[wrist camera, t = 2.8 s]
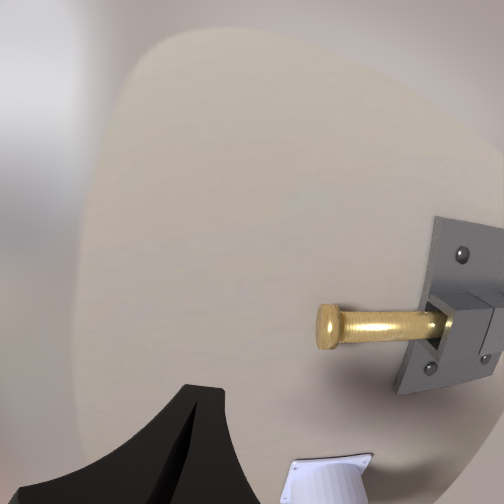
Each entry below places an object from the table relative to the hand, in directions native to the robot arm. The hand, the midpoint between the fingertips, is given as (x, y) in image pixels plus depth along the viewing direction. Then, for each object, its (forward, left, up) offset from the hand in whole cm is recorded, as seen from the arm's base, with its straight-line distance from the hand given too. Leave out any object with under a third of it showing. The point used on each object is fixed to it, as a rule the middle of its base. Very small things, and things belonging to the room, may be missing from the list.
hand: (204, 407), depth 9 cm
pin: (0, -12, -8) cm, 15 cm away
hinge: (0, -19, -9) cm, 21 cm away
